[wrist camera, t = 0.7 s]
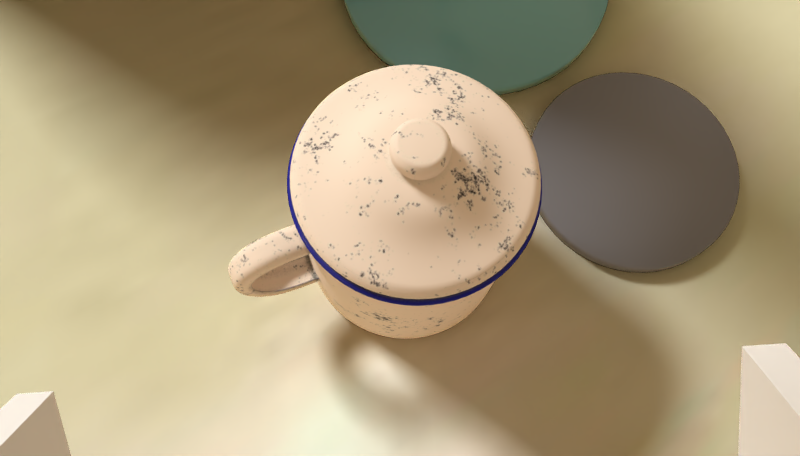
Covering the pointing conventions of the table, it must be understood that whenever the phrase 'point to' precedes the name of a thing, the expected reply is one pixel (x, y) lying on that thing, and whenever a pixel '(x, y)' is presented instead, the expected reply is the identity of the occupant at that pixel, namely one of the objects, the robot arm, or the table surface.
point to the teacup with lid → (402, 202)
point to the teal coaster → (480, 36)
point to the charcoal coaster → (634, 172)
